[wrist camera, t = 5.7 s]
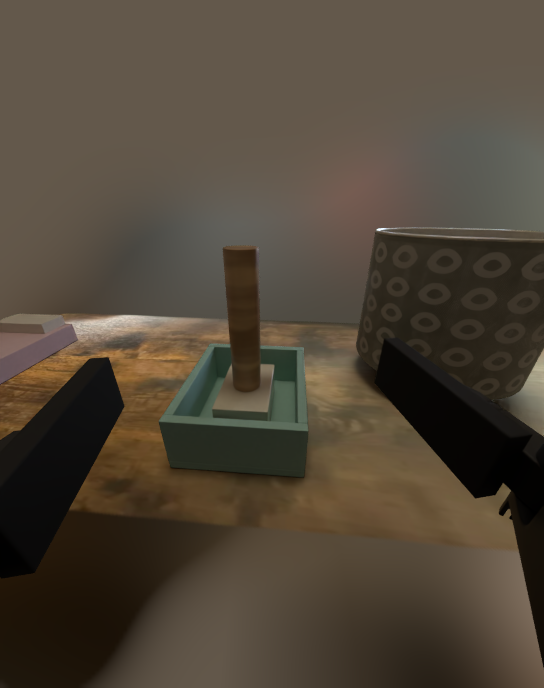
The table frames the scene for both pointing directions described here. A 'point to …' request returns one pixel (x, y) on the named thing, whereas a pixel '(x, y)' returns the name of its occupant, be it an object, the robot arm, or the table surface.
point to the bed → (31, 341)
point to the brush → (244, 342)
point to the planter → (458, 302)
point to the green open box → (234, 434)
